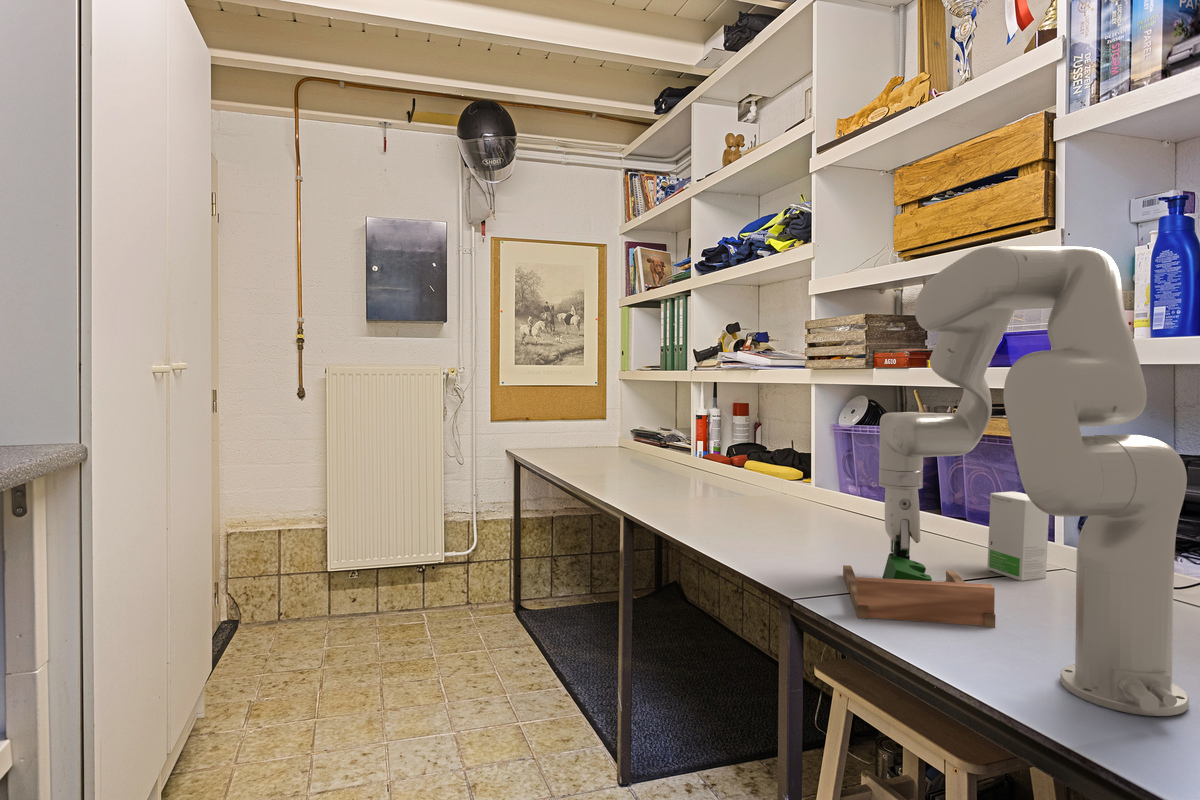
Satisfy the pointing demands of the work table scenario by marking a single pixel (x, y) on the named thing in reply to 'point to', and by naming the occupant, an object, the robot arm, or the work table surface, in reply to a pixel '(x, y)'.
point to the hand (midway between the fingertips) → (899, 575)
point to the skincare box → (1017, 537)
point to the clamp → (904, 569)
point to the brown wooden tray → (922, 599)
